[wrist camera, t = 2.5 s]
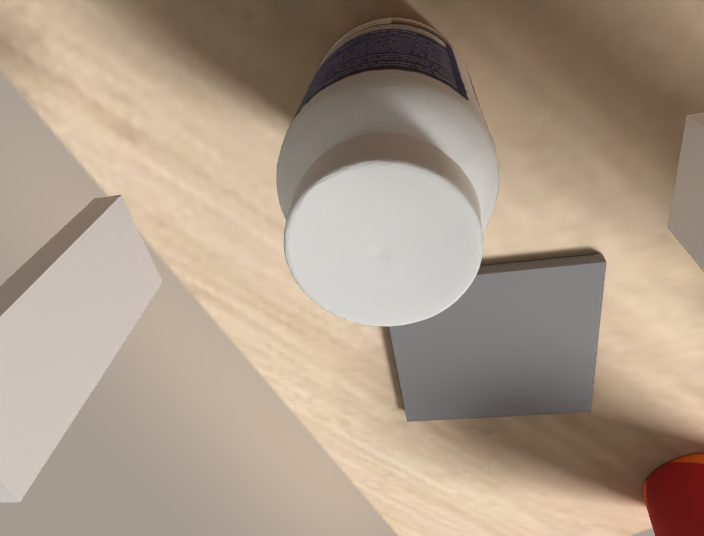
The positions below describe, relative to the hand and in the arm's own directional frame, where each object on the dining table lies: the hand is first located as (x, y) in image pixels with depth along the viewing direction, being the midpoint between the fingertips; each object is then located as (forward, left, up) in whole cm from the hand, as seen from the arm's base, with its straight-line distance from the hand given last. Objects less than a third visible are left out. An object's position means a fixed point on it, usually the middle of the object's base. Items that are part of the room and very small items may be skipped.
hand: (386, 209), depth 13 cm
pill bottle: (0, 0, -7) cm, 7 cm away
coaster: (+12, +3, -7) cm, 14 cm away
